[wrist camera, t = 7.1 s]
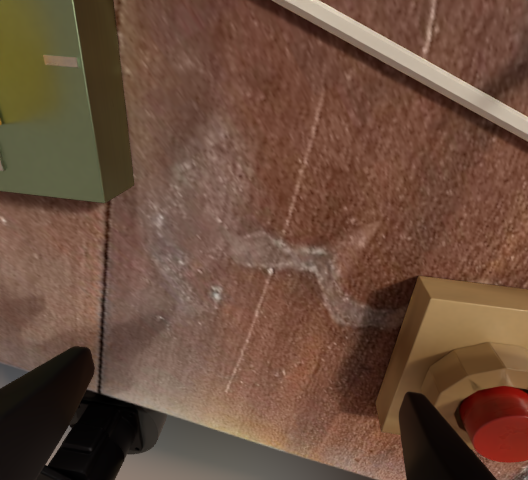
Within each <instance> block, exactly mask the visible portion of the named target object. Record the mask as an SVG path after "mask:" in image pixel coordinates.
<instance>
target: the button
mask: <svg viewBox="0 0 528 480" xmlns="http://www.w3.org/2000/svg"><path fill="white" fill-rule="evenodd" d="M459 414H460V418H461V420H462V422H463V424H464V427H465V429H466V431H467V433H468V436H469V438H470V440H471V443H472V445H473V447H474V449H475V450H476V451H477V452H478V453H479V454H480V455H482V456H483V457H485V458H488V459H490V460H494V461H498V462H521V461H526V460H528V394H527V393H526V392H524V391H522V390H520V389H518V388H514V387H508V386H499V387H493V388H488V389H483V390H478V391H476V392H475V393H473V394H471V395H470V396H468V397H467V398H465V399H464V400H463V401H462V403H461V405H460V408H459Z"/></svg>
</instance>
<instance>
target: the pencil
mask: <svg viewBox="0 0 528 480" xmlns="http://www.w3.org/2000/svg"><path fill="white" fill-rule="evenodd" d="M272 1H273V2H275V3H277V4H279V5H281V6H283V7H284V8H286V9H288V10H290V11H292V12H293V13H295V14H297V15H299V16H301V17H302V18H304V19H306V20H308V21H310V22H312V23H313V24H315V25H317V26H319V27H321V28H322V29H324V30H326V31H328V32H330V33H332V34H333V35H335V36H337V37H339V38H341V39H342V40H344V41H346V42H348V43H350V44H351V45H353V46H355V47H357V48H359V49H361V50H362V51H364V52H366V53H368V54H370V55H371V56H373V57H375V58H377V59H379V60H380V61H382V62H384V63H386V64H388V65H390V66H391V67H393V68H395V69H397V70H399V71H400V72H402V73H404V74H406V75H408V76H410V77H411V78H413V79H415V80H417V81H419V82H420V83H422V84H424V85H426V86H428V87H429V88H431V89H433V90H435V91H437V92H439V93H440V94H442V95H444V96H446V97H448V98H449V99H451V100H453V101H455V102H457V103H459V104H460V105H462V106H464V107H466V108H468V109H469V110H471V111H473V112H475V113H477V114H478V115H480V116H482V117H484V118H486V119H488V120H489V121H491V122H493V123H495V124H497V125H498V126H500V127H502V128H504V129H506V130H508V131H509V132H511V133H513V134H515V135H517V136H518V137H520V138H522V139H524V140H526V141H527V142H528V117H527V116H525V115H523V114H521V113H520V112H518V111H516V110H514V109H513V108H511V107H509V106H507V105H505V104H504V103H502V102H500V101H498V100H496V99H495V98H493V97H491V96H489V95H487V94H486V93H484V92H482V91H480V90H479V89H477V88H475V87H473V86H471V85H470V84H468V83H466V82H464V81H462V80H461V79H459V78H457V77H455V76H453V75H452V74H450V73H448V72H446V71H445V70H443V69H441V68H439V67H437V66H436V65H434V64H432V63H430V62H428V61H427V60H425V59H423V58H421V57H419V56H418V55H416V54H414V53H412V52H411V51H409V50H407V49H405V48H403V47H402V46H400V45H398V44H396V43H394V42H393V41H391V40H389V39H387V38H385V37H384V36H382V35H380V34H378V33H377V32H375V31H373V30H371V29H369V28H368V27H366V26H364V25H362V24H360V23H359V22H357V21H355V20H353V19H352V18H350V17H348V16H346V15H344V14H343V13H341V12H339V11H337V10H335V9H334V8H332V7H330V6H328V5H326V4H325V3H323V2H321V1H319V0H272Z"/></svg>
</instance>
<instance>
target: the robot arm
mask: <svg viewBox="0 0 528 480" xmlns="http://www.w3.org/2000/svg"><path fill="white" fill-rule="evenodd" d="M94 370H95V367H94V363H93V359H92V355H91V351H90V349H89V348H87V347H79V346H74V347H72V348H70V349H68V350H67V351H65V352H63V353H61V354H60V355H58V356H56V357H54V358H53V359H51V360H49V361H47V362H46V363H44V364H42V365H41V366H39V367H37V368H35V369H34V370H32V371H30V372H28V373H27V374H25V375H23V376H22V377H20V378H18V379H16V380H15V381H13V382H11V383H9V384H8V385H6V386H4V387H2V388H1V389H0V480H115V478H116V476H117V474H118V472H119V470H120V468H121V466H122V463H123V462H124V459H125V457H126V455H127V453H128V451H129V450H130V451H136V452H141V451H142V449H143V439H142V433H141V427H140V421H139V414H138V411H137V410H136V409H135V408H130V407H124V406H118V405H113V404H107V403H101V402H95V401H89V400H83V399H82V398H83V396H84V393H85V391H86V389H87V387H88V385H89V383H90V381H91V379H92V377H93V375H94ZM75 413H76V417H77V422H76V423H75V425H74V426H73V428H72V429H71V431H70V432H69V434H68V435H67V437H66V438H65V440H64V441H63V443H62V445H61V447H60V448H59V450H58V451H57V453H56V454H55V456H54V457H53V458H52V460H51V461H50V463H49V465H48V466H46V465H45V464H46V463H47V461H48V459H49V458H50V456H51V454H52V453H53V451H54V449H55V448H56V446H57V444H58V443H59V441H60V440H61V438H62V436H63V434H64V433H65V431H66V429H67V428H68V426H69V424H70V422H71V420H72V418H73V416H74V414H75ZM399 426H400V433H401V441H402V448H403V456H404V463H405V470H406V477H407V480H497V479H496V478H495V477H494V476H493V474H492V473H491V472H490V471H489V470H488V469H487V467H486V466H485V465H484V464H483V463H482V462H481V460H480V459H479V458H478V457H477V456H476V455H475V453H474V452H473V451H472V450H471V449H470V448H469V446H468V445H467V444H466V443H465V442H464V441H463V439H462V438H461V437H460V436H459V435H458V434H457V432H456V431H455V430H454V429H453V428H452V427H451V425H450V424H449V423H448V422H447V421H446V420H445V418H444V417H443V416H442V415H441V414H440V413H439V411H438V410H437V409H436V408H435V407H434V406H433V404H432V403H431V402H430V401H429V400H428V399H427V397H426V396H425V395H423V394H422V393H417V392H410V391H409V392H406V394H405V396H404V398H403V401H402V404H401V407H400V410H399Z"/></svg>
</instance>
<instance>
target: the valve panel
mask: <svg viewBox="0 0 528 480" xmlns="http://www.w3.org/2000/svg"><path fill="white" fill-rule="evenodd" d="M0 119H1V122H2V125H0V191H4V192H13V193H22V194H30V195H39V196H47V197H56V198H65V199H73V200H82V201H91V202H99V203H106V202H108V201H109V200H111V199H113V198H114V197H116V196H118V195H119V194H121V193H122V192H124V191H126V190H127V189H129V188H131V187H132V186H134V178H133V169H132V161H131V152H130V143H129V134H128V125H127V117H126V108H125V99H124V90H123V81H122V73H121V64H120V55H119V46H118V38H117V29H116V20H115V11H114V2H113V0H0Z"/></svg>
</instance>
